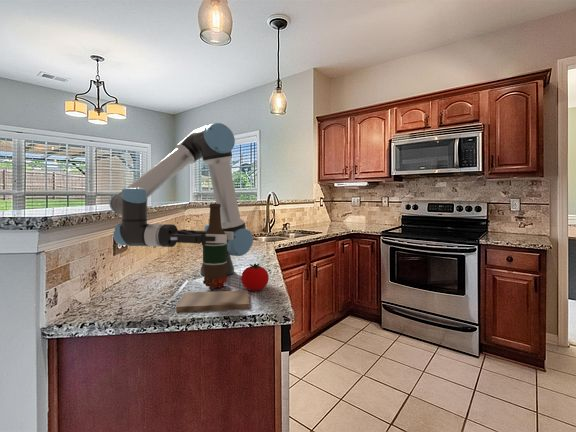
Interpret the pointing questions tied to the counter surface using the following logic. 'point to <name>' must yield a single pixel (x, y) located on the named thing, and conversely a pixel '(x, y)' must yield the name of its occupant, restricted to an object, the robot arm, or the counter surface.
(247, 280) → the tomato
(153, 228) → the robot arm
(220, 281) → the dragon fruit
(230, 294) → the wooden cutting board
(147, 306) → the counter surface
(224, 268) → the beer bottle
